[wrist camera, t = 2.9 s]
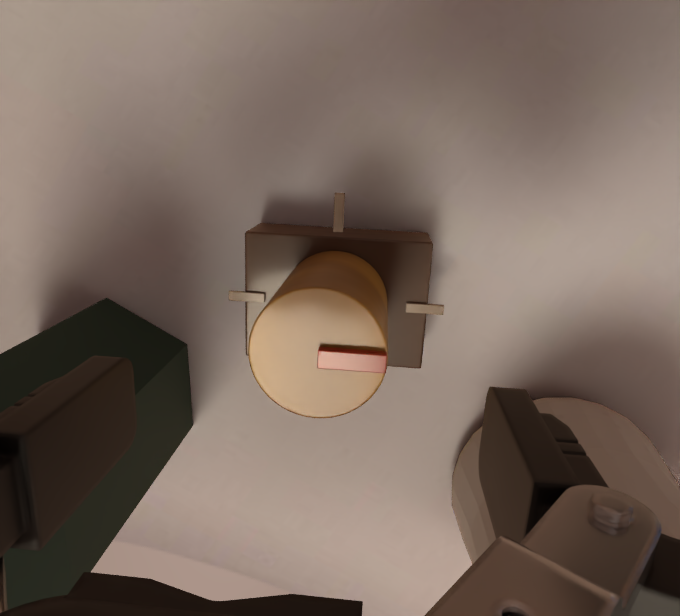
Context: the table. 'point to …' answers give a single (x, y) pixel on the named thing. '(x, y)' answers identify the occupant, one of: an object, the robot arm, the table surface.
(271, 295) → the plate
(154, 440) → the bottle
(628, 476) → the mug
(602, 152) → the table surface
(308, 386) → the lock knob
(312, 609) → the robot arm
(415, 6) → the table surface
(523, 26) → the table surface
